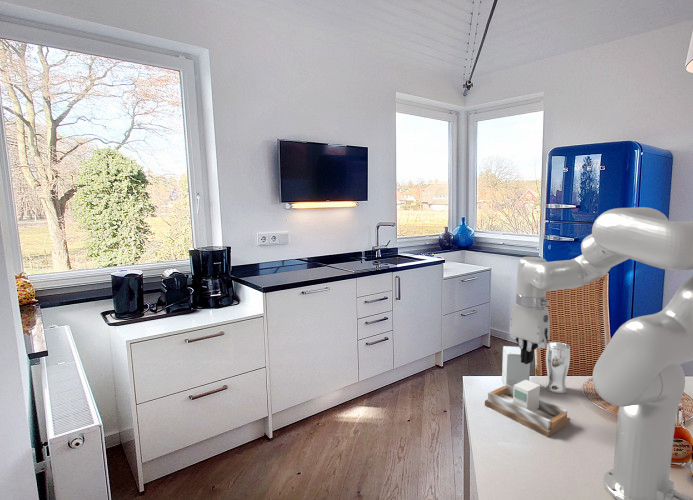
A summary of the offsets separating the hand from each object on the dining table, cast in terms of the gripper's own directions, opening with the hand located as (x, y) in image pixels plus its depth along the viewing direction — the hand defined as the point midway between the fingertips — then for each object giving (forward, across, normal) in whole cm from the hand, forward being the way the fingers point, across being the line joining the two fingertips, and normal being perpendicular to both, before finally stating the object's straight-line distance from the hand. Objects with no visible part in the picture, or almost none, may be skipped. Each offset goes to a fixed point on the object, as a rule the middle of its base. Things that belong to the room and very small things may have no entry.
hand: (526, 362), depth 116 cm
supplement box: (+16, +11, -13) cm, 24 cm away
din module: (+14, -1, 0) cm, 14 cm away
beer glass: (+16, +2, -22) cm, 27 cm away
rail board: (+16, -1, 0) cm, 16 cm away
